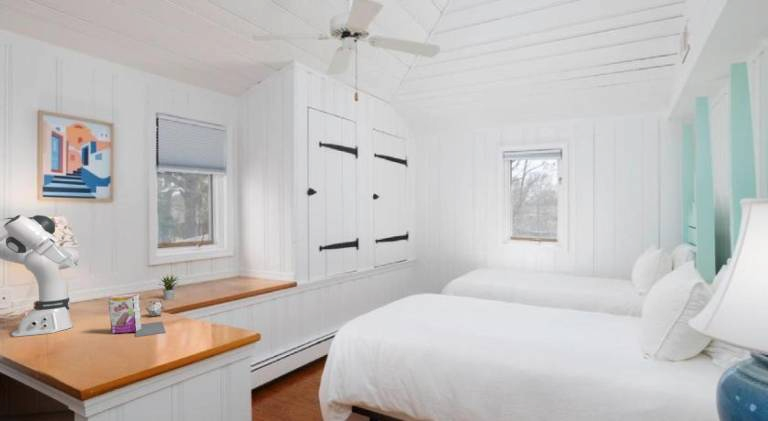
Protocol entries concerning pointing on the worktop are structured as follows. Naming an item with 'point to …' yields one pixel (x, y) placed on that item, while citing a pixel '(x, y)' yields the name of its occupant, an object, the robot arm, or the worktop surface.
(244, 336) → the worktop surface
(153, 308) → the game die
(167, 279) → the house plant
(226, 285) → the worktop surface
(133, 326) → the candy bar box
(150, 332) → the mat
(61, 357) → the worktop surface
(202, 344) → the worktop surface
